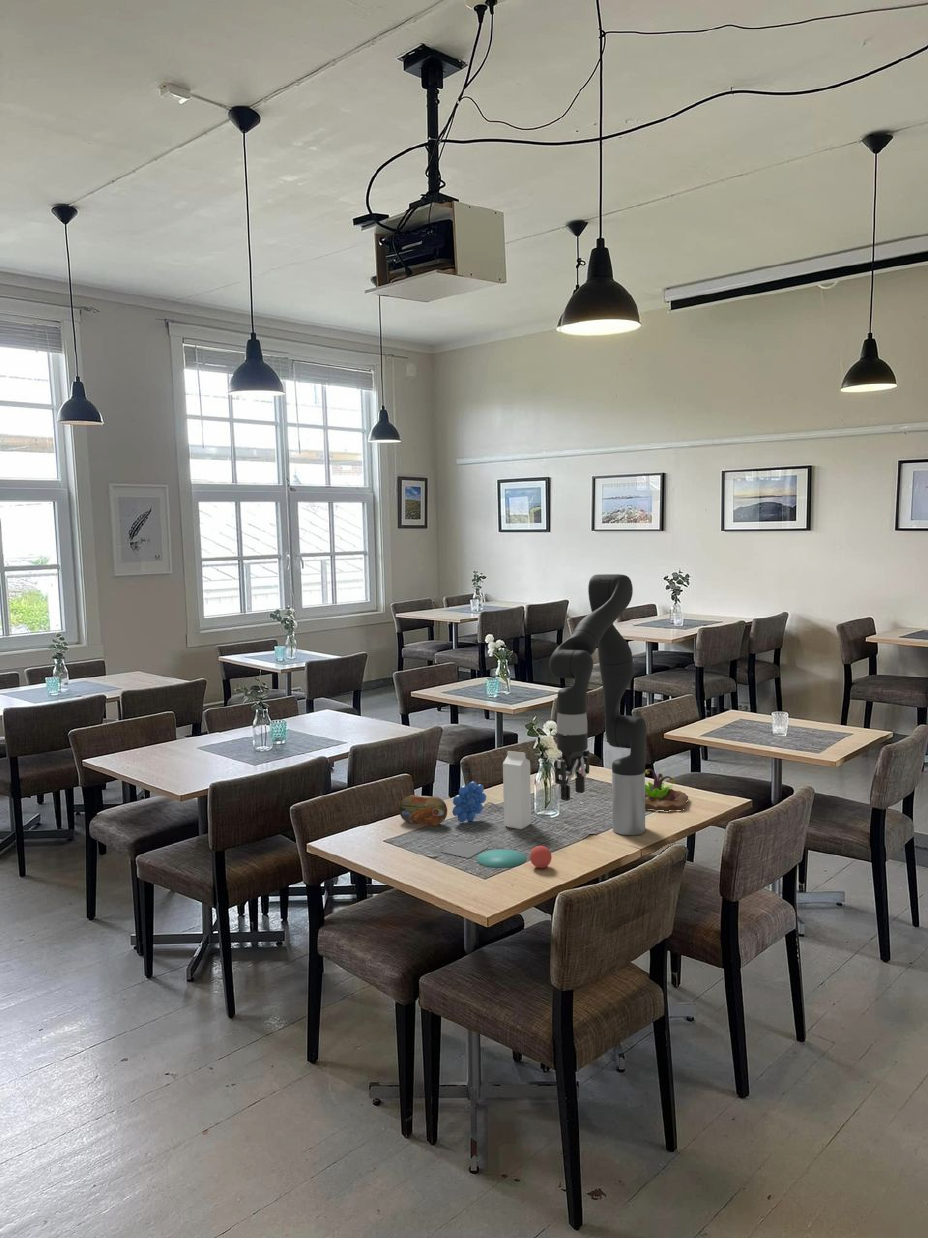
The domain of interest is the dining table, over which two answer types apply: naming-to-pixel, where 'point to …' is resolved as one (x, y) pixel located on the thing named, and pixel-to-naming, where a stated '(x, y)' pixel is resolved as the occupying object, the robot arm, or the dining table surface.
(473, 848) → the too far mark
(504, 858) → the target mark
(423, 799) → the tin
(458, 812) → the grapes
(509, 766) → the milk
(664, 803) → the plant
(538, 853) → the ball
